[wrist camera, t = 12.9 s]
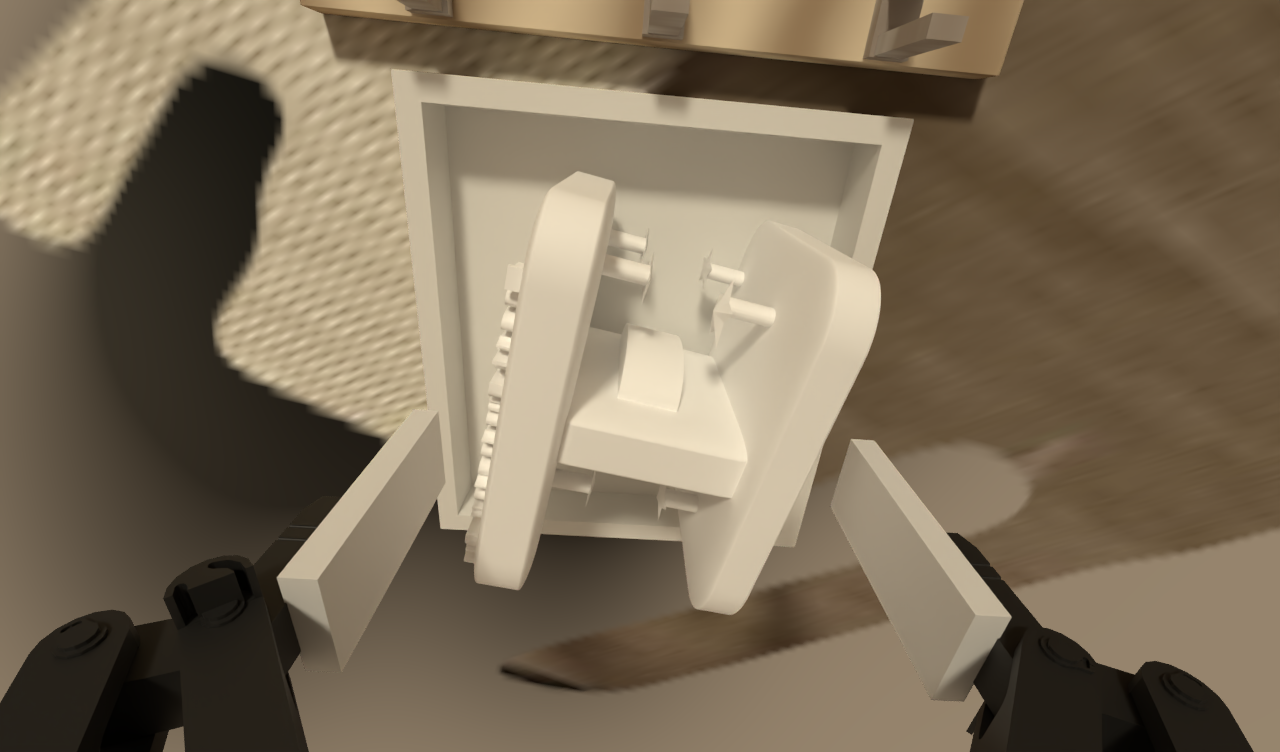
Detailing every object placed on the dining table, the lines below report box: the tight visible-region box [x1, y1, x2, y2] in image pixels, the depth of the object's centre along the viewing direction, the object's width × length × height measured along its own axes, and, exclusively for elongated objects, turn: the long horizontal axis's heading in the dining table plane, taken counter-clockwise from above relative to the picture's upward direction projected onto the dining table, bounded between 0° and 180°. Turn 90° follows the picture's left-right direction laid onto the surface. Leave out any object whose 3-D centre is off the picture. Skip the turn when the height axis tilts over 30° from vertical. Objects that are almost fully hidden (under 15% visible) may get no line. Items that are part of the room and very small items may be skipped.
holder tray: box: [391, 69, 914, 547], centre depth 26 cm, size 20×22×4 cm
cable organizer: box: [464, 171, 881, 615], centre depth 21 cm, size 15×11×12 cm
